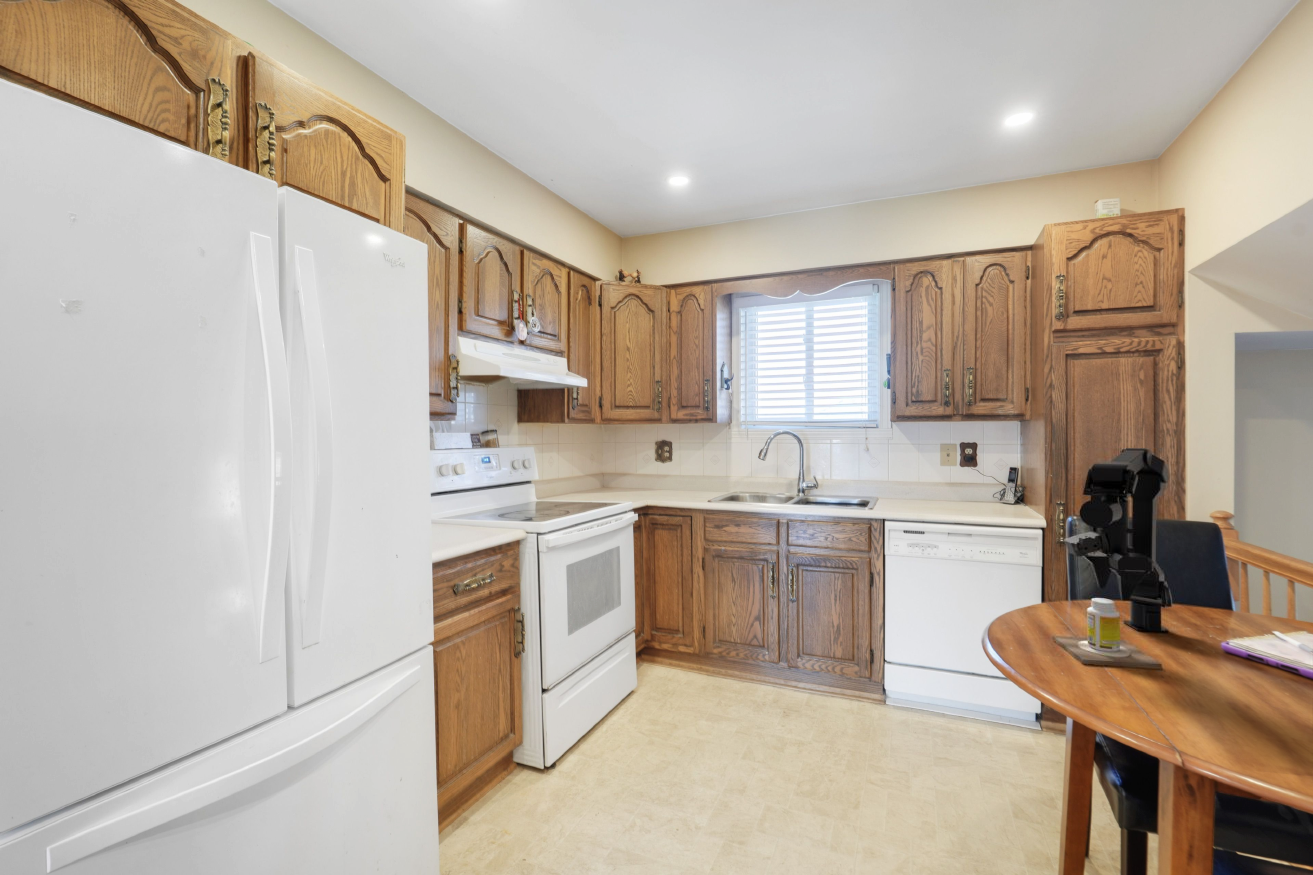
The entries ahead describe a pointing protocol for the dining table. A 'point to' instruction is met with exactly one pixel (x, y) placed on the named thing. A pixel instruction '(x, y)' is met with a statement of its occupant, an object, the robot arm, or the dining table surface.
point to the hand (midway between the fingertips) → (1112, 593)
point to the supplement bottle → (1103, 625)
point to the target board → (1106, 654)
